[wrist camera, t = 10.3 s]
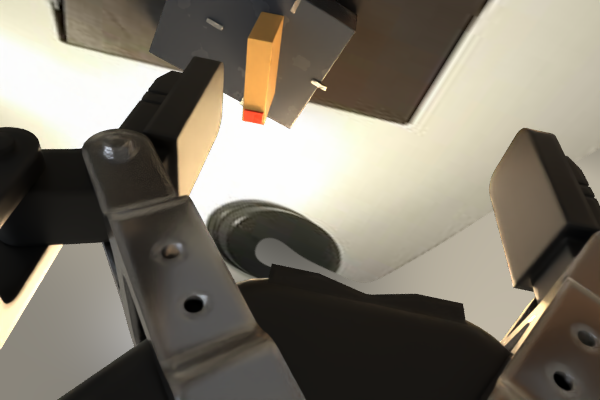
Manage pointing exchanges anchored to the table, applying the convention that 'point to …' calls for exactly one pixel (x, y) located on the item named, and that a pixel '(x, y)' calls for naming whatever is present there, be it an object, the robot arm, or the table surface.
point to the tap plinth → (234, 35)
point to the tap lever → (262, 66)
